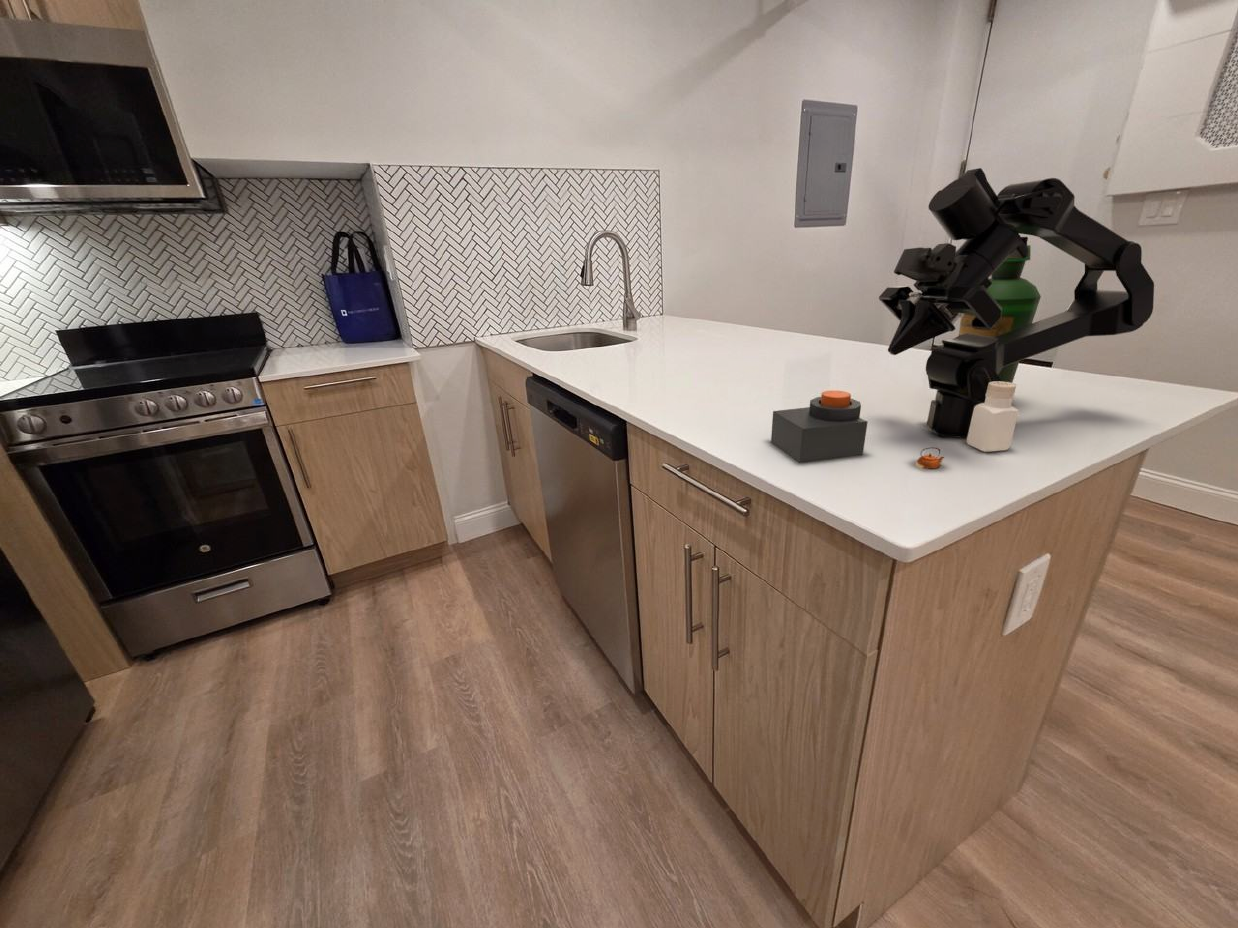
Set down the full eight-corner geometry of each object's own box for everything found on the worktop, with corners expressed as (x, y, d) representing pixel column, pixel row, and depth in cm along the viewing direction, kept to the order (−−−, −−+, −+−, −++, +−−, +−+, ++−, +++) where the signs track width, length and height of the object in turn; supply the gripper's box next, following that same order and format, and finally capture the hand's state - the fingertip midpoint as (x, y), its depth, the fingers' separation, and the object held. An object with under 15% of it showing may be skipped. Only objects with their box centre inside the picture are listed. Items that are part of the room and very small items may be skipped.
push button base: (833, 434, 82) (838, 392, 79) (868, 454, 73) (875, 408, 71) (770, 442, 80) (773, 399, 77) (799, 463, 72) (803, 416, 69)
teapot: (918, 460, 71) (921, 442, 70) (942, 464, 69) (946, 446, 68) (913, 467, 69) (917, 449, 68) (938, 471, 67) (942, 453, 66)
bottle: (932, 395, 99) (963, 239, 88) (992, 394, 97) (1030, 236, 86) (958, 411, 89) (996, 238, 78) (1025, 410, 88) (1073, 234, 77)
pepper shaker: (1010, 451, 72) (1028, 386, 68) (983, 453, 72) (999, 388, 68) (989, 441, 76) (1004, 379, 72) (963, 443, 75) (978, 381, 72)
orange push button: (839, 400, 77) (840, 389, 76) (855, 407, 73) (856, 395, 72) (815, 403, 76) (816, 391, 75) (830, 410, 72) (831, 398, 72)
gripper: (895, 231, 77) (823, 314, 80) (993, 213, 59) (896, 320, 62) (938, 280, 80) (867, 358, 83) (1044, 277, 62) (949, 376, 65)
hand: (890, 353), depth 73 cm, fingers closed
